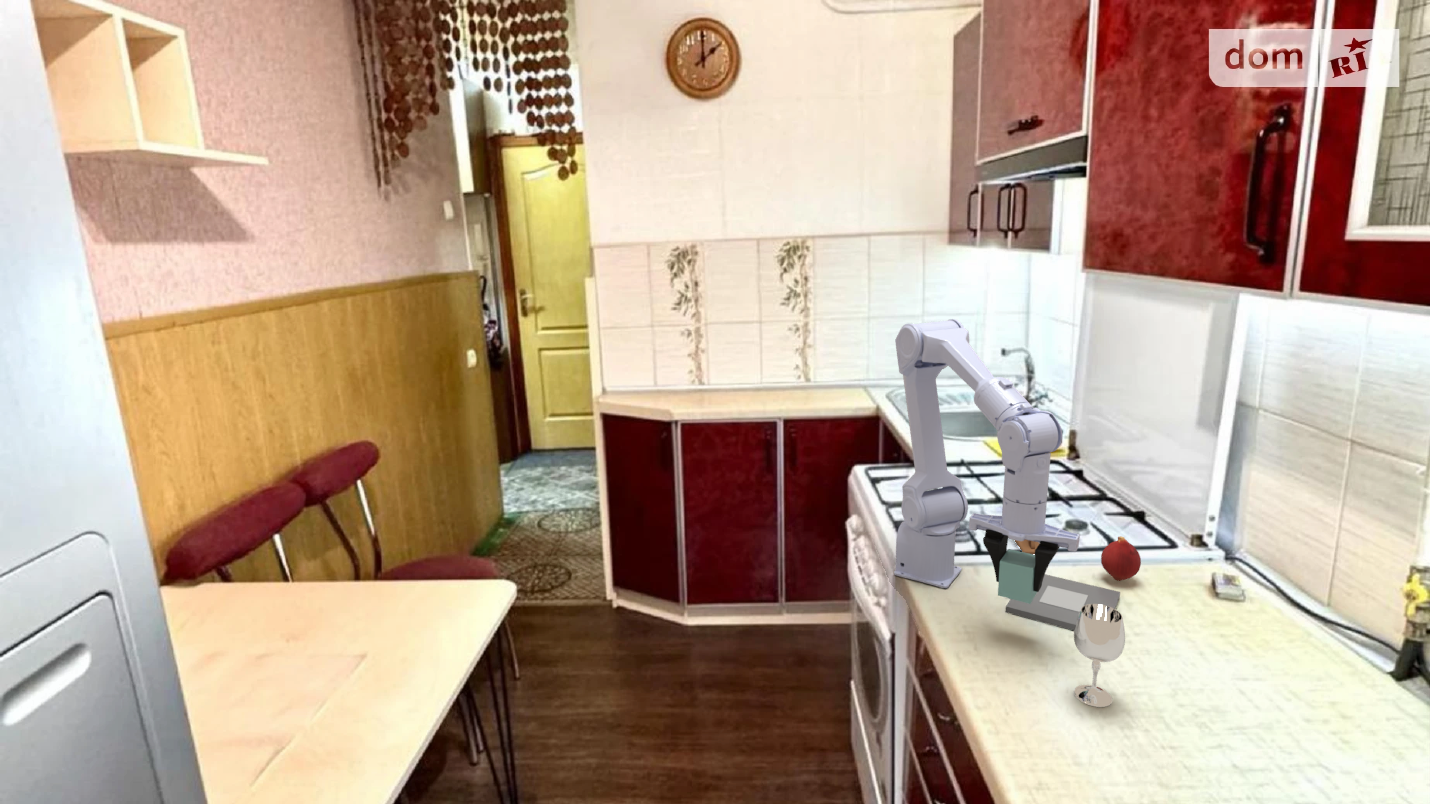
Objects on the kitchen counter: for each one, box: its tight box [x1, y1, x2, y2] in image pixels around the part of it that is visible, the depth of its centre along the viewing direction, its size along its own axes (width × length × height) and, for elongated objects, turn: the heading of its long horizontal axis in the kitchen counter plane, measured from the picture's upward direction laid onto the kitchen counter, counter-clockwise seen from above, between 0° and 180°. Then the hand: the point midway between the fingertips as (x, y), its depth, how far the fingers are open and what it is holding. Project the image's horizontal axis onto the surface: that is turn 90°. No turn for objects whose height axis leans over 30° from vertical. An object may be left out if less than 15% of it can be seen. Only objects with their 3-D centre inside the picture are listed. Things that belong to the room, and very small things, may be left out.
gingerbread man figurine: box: [1014, 540, 1040, 554], centre depth 137 cm, size 9×4×12 cm, turn 173°
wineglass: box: [1073, 604, 1126, 708], centre depth 94 cm, size 6×6×12 cm
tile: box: [1005, 573, 1121, 631], centre depth 117 cm, size 14×14×1 cm
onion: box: [1100, 536, 1142, 582], centre depth 123 cm, size 6×6×8 cm
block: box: [997, 548, 1037, 604], centre depth 107 cm, size 4×4×6 cm
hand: (1018, 584), depth 108 cm, fingers closed on block, 4 cm apart
